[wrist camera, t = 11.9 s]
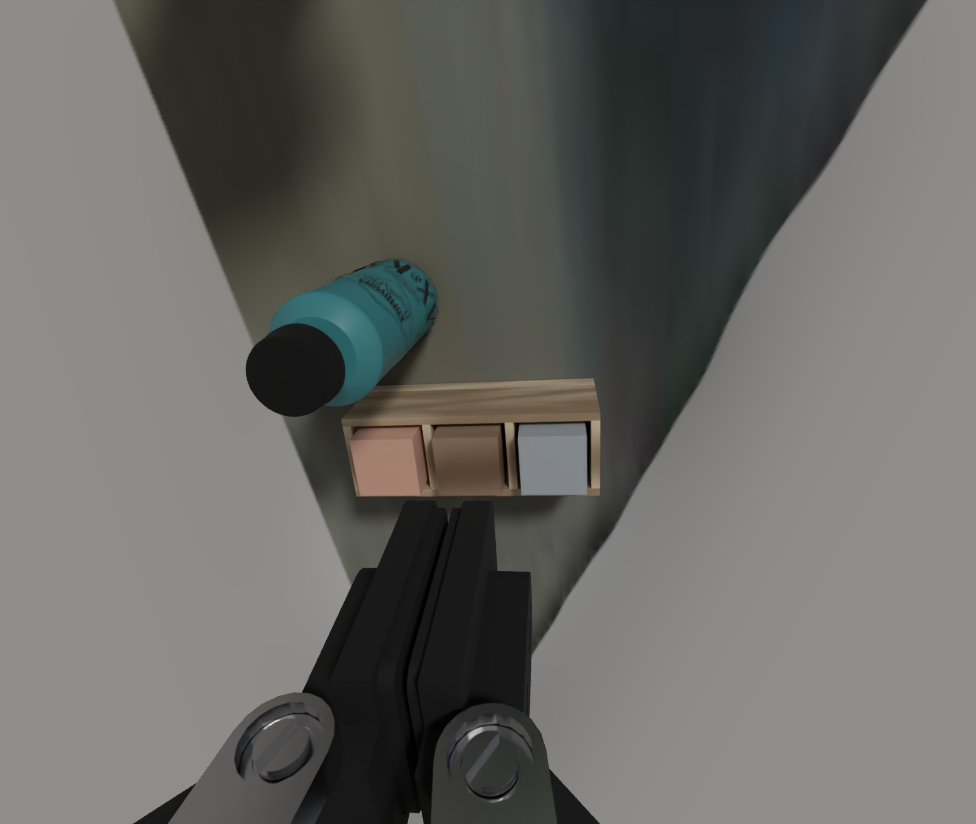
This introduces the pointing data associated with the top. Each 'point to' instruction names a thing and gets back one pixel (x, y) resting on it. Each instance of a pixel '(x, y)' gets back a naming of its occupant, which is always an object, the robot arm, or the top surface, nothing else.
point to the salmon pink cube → (390, 460)
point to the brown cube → (470, 458)
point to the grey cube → (553, 458)
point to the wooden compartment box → (482, 417)
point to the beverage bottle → (341, 338)
